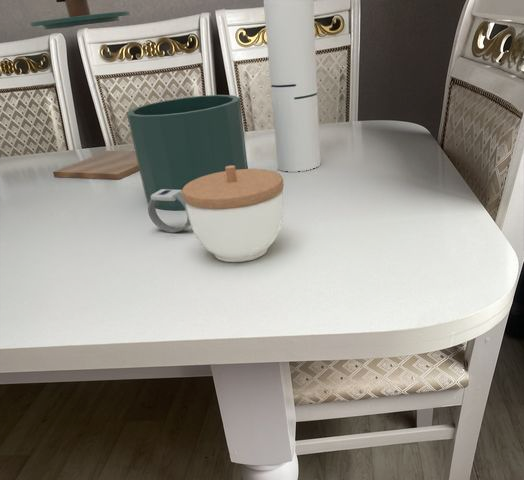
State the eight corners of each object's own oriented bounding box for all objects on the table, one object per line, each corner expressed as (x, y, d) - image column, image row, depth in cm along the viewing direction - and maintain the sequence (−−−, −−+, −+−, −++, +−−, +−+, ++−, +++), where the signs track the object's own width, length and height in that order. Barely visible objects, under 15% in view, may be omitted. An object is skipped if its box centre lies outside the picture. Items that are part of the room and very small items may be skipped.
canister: (125, 207, 78) (103, 117, 72) (184, 176, 90) (170, 97, 83) (215, 213, 72) (200, 114, 65) (266, 179, 83) (258, 93, 76)
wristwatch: (200, 228, 67) (194, 189, 64) (189, 236, 65) (182, 196, 62) (160, 226, 70) (152, 188, 67) (149, 233, 68) (140, 195, 65)
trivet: (54, 177, 100) (52, 171, 99) (109, 155, 111) (108, 150, 111) (119, 179, 93) (117, 173, 92) (170, 156, 105) (169, 151, 104)
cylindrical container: (281, 161, 92) (267, -11, 78) (322, 159, 90) (315, -17, 77) (274, 172, 86) (257, -11, 72) (317, 170, 84) (309, -18, 71)
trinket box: (278, 228, 64) (271, 148, 59) (298, 261, 55) (291, 171, 50) (191, 242, 63) (177, 162, 58) (197, 278, 54) (180, 188, 49)
